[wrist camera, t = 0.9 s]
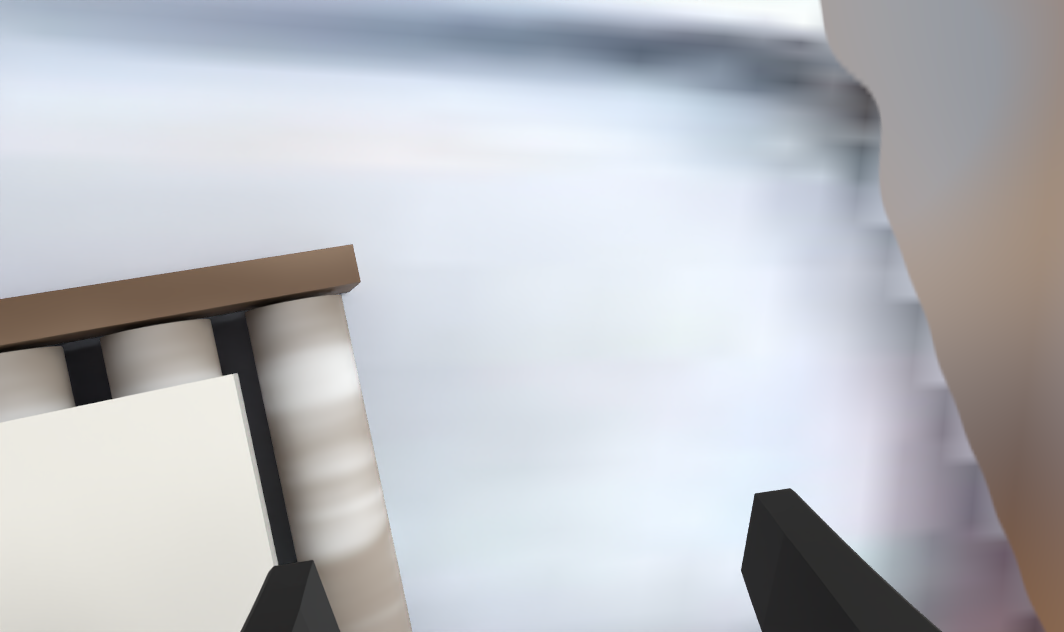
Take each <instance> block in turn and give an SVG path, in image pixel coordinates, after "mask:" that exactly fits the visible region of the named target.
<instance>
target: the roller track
mask: <svg viewBox="0 0 1064 632" xmlns="http://www.w3.org/2000/svg"><path fill="white" fill-rule="evenodd" d="M359 283H360V277H359V272H358V267H357V263H356V258H355V253H354V248H353V244H352V245H345V246H339V247H332V248H326V249H320V250H313V251H307V252H300V253H294V254H287V255H281V256H275V257H268V258H262V259H255V260H249V261H243V262H236V263H230V264H223V265H217V266H210V267H204V268H198V269H191V270H185V271H178V272H172V273H166V274H159V275H153V276H146V277H140V278H133V279H127V280H121V281H114V282H108V283H101V284H95V285H89V286H82V287H76V288H69V289H63V290H56V291H50V292H44V293H37V294H31V295H24V296H18V297H12V298H5V299H0V423H1V422H6V421H11V420H15V419H20V418H25V417H30V416H34V415H39V414H44V413H49V412H53V411H58V410H63V409H68V408H73V407H76V406H75V402H74V397H73V392H72V387H71V383H70V378H69V373H68V369H67V364H66V359H65V355H64V350H63V347H62V346H52V347H44V346H50V345H55V344H61V343H67V342H72V341H78V340H83V339H89V338H94V337H100V336H103V337H101V338H100V344H101V348H102V353H103V358H104V362H105V367H106V372H107V376H108V381H109V386H110V390H111V395H112V399H116V398H120V397H125V396H130V395H135V394H139V393H144V392H149V391H154V390H159V389H163V388H168V387H173V386H178V385H182V384H187V383H192V382H197V381H202V380H206V379H211V378H216V377H221V376H222V371H221V367H220V362H219V357H218V353H217V348H216V343H215V338H214V334H213V329H212V324H211V320H210V319H200V318H206V317H211V316H217V315H222V314H228V313H233V312H239V311H245V310H250V309H253V310H250V311H247V312H245V317H246V322H247V326H248V331H249V336H250V341H251V345H252V350H253V355H254V359H255V364H256V369H257V374H258V378H259V383H260V388H261V392H262V397H263V402H264V407H265V411H266V416H267V421H268V425H269V430H270V435H271V440H272V444H273V449H274V454H275V458H276V463H277V468H278V473H279V477H280V482H281V487H282V491H283V496H284V501H285V506H286V510H287V515H288V520H289V524H290V529H291V534H292V539H293V543H294V548H295V553H296V557H297V562H303V561H309V560H314V563H315V566H316V568H317V571H318V574H319V576H320V579H321V582H322V584H323V587H324V590H325V592H326V595H327V598H328V600H329V603H330V606H331V608H332V611H333V614H334V616H335V619H336V621H337V624H338V627H339V629H340V632H412V628H411V623H410V619H409V614H408V609H407V604H406V600H405V595H404V590H403V585H402V581H401V576H400V571H399V566H398V562H397V557H396V552H395V548H394V543H393V538H392V533H391V529H390V524H389V519H388V514H387V510H386V505H385V500H384V495H383V491H382V486H381V481H380V477H379V472H378V467H377V462H376V458H375V453H374V448H373V443H372V439H371V434H370V429H369V424H368V420H367V415H366V410H365V406H364V401H363V396H362V391H361V387H360V382H359V377H358V372H357V368H356V363H355V358H354V353H353V349H352V344H351V339H350V335H349V330H348V325H347V320H346V316H345V311H344V306H343V301H342V297H341V295H334V294H339V293H345V292H350V291H351V290H352V289H353V288H354V287H356V286H357V285H358V284H359ZM195 319H196V320H195ZM106 335H107V336H106ZM39 347H41V348H39Z"/></svg>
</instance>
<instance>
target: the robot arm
mask: <svg viewBox="0 0 1064 632" xmlns="http://www.w3.org/2000/svg"><path fill="white" fill-rule="evenodd" d="M741 572H742V575H743V578H744V581H745V584H746V587H747V590H748V593H749V596H750V599H751V602H752V605H753V608H754V610H755V613H756V616H757V619H758V622H759V624H760V627H761V630H762V632H942V631H941V630H940V629H938V628H937V627H936V626H935V625H934V624H933V623H932V622H930V621H929V620H928V619H927V618H926V617H925V616H924V615H922V614H921V613H920V612H919V611H918V610H917V609H916V608H915V607H913V606H912V605H911V604H910V603H909V602H908V601H907V600H906V599H905V598H904V597H903V596H901V595H900V594H899V593H898V592H897V591H896V590H895V589H894V588H893V587H892V586H891V585H890V584H888V583H887V582H886V581H885V580H884V579H883V578H882V577H881V576H880V575H879V574H878V573H877V572H875V571H874V570H873V569H872V568H871V567H870V566H869V565H868V564H867V563H866V562H865V561H864V560H863V559H862V558H861V557H860V556H859V555H858V554H857V553H856V552H855V551H854V550H853V549H852V548H851V547H850V546H849V545H847V544H846V543H845V542H844V541H843V540H842V539H841V538H840V537H839V536H838V535H837V534H836V533H835V532H834V531H833V530H832V529H831V528H830V527H829V526H828V525H827V524H826V523H825V522H824V521H823V520H822V519H821V518H820V517H819V516H818V515H817V514H816V513H815V512H814V511H813V510H812V509H811V508H810V507H809V506H808V505H807V504H806V503H805V502H804V501H803V500H802V498H801V497H800V496H799V495H798V494H797V493H796V492H794V491H793V490H792V489H790V488H789V489H782V490H776V491H769V492H762V493H756V494H755V495H754V501H753V506H752V512H751V517H750V523H749V529H748V534H747V540H746V545H745V551H744V557H743V562H742V568H741ZM240 632H340V629H339V627H338V624H337V621H336V619H335V616H334V614H333V611H332V608H331V606H330V603H329V600H328V598H327V595H326V592H325V590H324V587H323V584H322V582H321V579H320V576H319V574H318V571H317V568H316V566H315V563H314V560H309V561H303V562H296V563H289V564H283V565H276V566H273V567H272V568H271V570H270V571H269V572H268V574H267V576H266V578H265V581H264V583H263V585H262V587H261V589H260V592H259V594H258V596H257V598H256V600H255V602H254V604H253V606H252V609H251V611H250V613H249V615H248V617H247V619H246V621H245V623H244V625H243V627H242V629H241V631H240Z"/></svg>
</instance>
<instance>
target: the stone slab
mask: <svg viewBox="0 0 1064 632" xmlns="http://www.w3.org/2000/svg"><path fill="white" fill-rule="evenodd" d="M276 565H278V561H277V556H276V552H275V547H274V542H273V538H272V533H271V528H270V523H269V519H268V514H267V509H266V505H265V500H264V495H263V490H262V486H261V481H260V476H259V472H258V467H257V462H256V458H255V453H254V448H253V443H252V439H251V434H250V429H249V425H248V420H247V415H246V410H245V406H244V401H243V396H242V392H241V387H240V382H239V377H238V373H235V374H230V375H225V376H221V377H216V378H211V379H206V380H202V381H197V382H192V383H187V384H182V385H178V386H173V387H168V388H163V389H159V390H154V391H149V392H144V393H139V394H135V395H130V396H125V397H120V398H116V399H111V400H106V401H101V402H96V403H92V404H87V405H82V406H77V407H73V408H68V409H63V410H58V411H53V412H49V413H44V414H39V415H34V416H30V417H25V418H20V419H15V420H11V421H6V422H1V423H0V632H240V631H241V629H242V627H243V625H244V623H245V621H246V619H247V617H248V615H249V613H250V611H251V609H252V606H253V604H254V602H255V600H256V598H257V596H258V594H259V592H260V589H261V587H262V585H263V583H264V581H265V578H266V576H267V574H268V572H269V571H270V570H271V568H272V567H273V566H276Z"/></svg>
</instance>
